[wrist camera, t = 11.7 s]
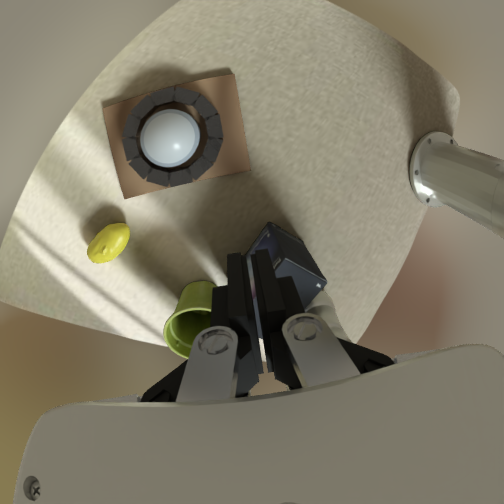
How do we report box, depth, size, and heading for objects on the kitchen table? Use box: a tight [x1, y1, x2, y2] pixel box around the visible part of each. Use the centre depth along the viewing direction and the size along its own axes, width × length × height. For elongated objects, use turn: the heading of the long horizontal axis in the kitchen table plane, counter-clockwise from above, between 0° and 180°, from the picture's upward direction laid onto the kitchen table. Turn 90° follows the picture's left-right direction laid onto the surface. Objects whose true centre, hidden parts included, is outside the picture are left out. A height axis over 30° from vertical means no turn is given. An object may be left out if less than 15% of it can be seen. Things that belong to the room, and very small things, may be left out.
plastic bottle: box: [305, 290, 352, 343], centre depth 35 cm, size 6×7×20 cm
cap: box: [140, 109, 201, 167], centre depth 27 cm, size 6×6×5 cm
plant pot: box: [163, 281, 217, 359], centre depth 37 cm, size 9×9×9 cm
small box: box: [246, 222, 327, 339], centre depth 34 cm, size 11×6×10 cm, turn 147°
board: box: [103, 74, 251, 199], centre depth 29 cm, size 16×12×1 cm
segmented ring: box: [122, 87, 224, 187], centre depth 28 cm, size 11×11×2 cm
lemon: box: [87, 223, 130, 263], centre depth 33 cm, size 4×8×4 cm, turn 118°
